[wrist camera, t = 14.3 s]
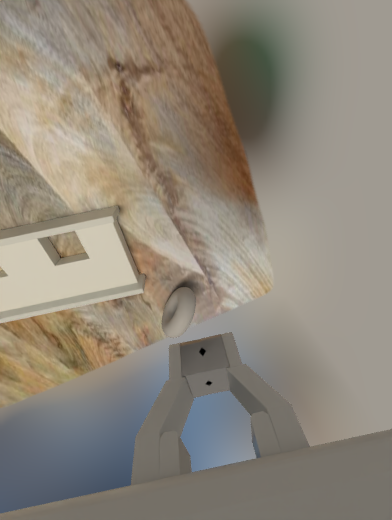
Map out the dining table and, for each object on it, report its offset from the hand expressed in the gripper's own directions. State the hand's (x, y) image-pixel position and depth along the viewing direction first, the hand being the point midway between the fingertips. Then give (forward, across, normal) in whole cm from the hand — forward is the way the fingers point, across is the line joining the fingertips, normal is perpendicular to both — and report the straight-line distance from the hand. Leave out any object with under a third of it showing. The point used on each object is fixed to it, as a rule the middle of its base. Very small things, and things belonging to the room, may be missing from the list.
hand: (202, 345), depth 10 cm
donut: (+29, +5, +22) cm, 37 cm away
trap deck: (+29, +29, +8) cm, 42 cm away
